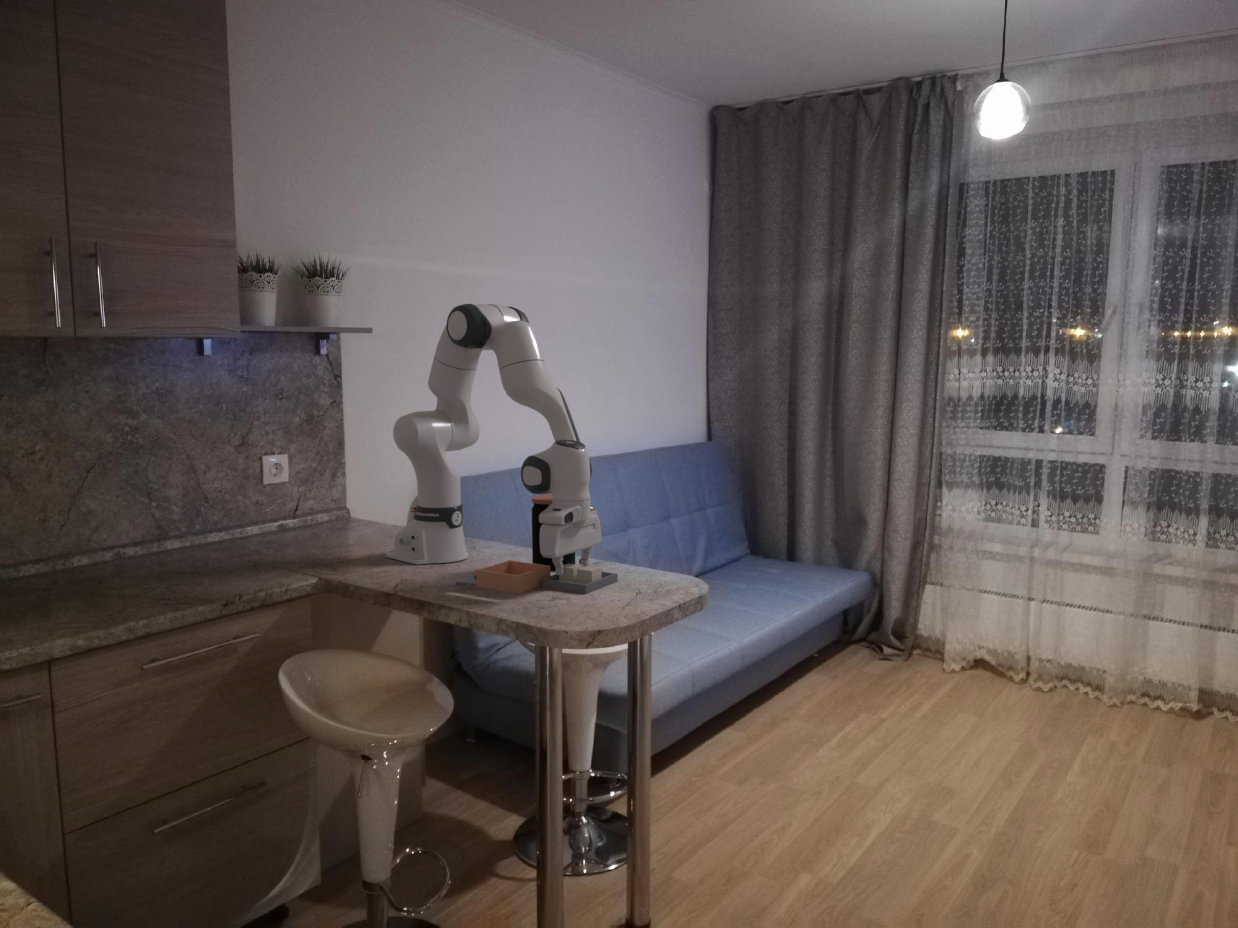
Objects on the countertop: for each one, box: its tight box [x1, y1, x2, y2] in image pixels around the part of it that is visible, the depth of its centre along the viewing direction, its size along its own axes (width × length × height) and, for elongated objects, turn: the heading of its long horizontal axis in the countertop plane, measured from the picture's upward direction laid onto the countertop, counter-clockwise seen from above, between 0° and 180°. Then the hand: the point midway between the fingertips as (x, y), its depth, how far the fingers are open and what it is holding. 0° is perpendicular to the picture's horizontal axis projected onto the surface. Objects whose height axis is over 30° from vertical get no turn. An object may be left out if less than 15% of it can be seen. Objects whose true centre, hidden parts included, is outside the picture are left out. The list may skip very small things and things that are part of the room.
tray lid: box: [455, 573, 477, 587], centre depth 216 cm, size 7×10×2 cm
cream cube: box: [559, 563, 583, 583], centre depth 212 cm, size 4×4×4 cm
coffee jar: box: [531, 494, 576, 572], centre depth 229 cm, size 11×11×18 cm
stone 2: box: [577, 565, 603, 584], centre depth 210 cm, size 4×4×4 cm
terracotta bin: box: [475, 559, 551, 595], centre depth 211 cm, size 12×12×4 cm
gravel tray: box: [541, 571, 618, 595], centre depth 211 cm, size 12×13×2 cm
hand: (572, 570), depth 212 cm, fingers open, 8 cm apart
